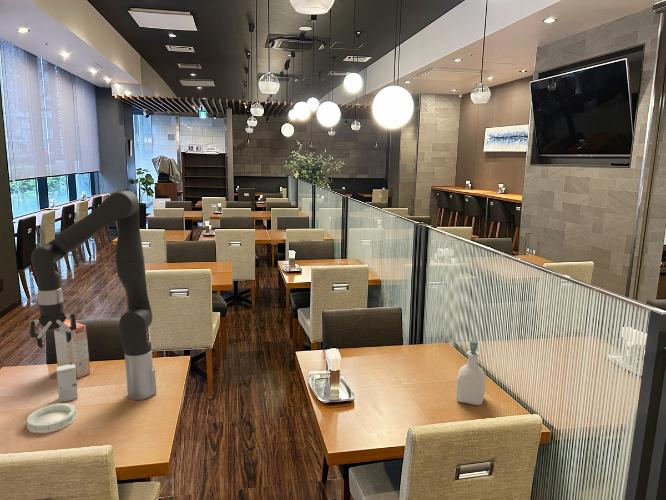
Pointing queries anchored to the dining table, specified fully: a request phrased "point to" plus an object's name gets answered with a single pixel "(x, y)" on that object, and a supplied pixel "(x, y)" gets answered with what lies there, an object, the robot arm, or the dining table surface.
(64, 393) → the skincare box
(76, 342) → the cracker box
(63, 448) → the dining table surface
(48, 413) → the dish
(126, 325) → the robot arm
